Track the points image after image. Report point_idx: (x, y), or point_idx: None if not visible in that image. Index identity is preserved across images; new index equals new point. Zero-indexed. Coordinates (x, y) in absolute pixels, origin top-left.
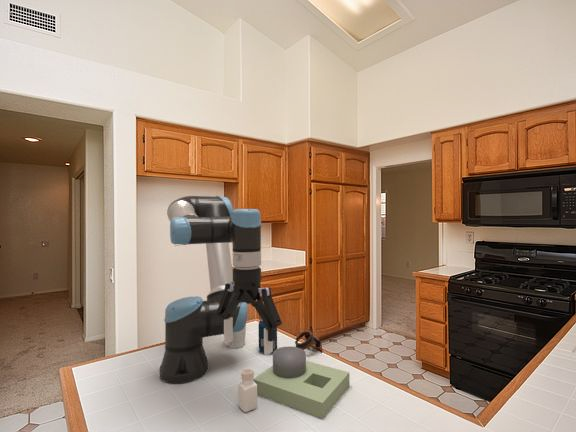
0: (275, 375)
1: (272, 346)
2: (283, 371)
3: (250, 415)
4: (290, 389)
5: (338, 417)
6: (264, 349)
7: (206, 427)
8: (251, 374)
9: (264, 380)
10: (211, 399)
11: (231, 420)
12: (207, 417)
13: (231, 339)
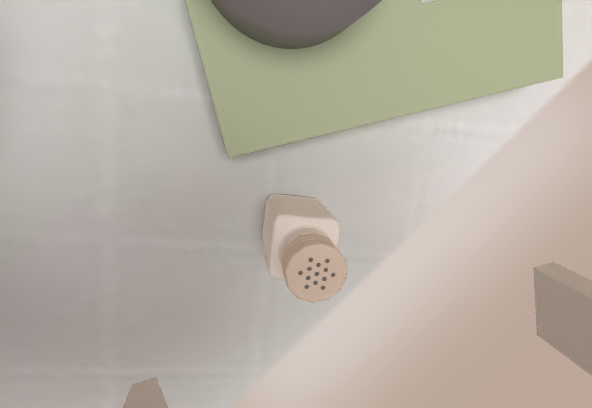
0: (279, 52)
1: (588, 282)
2: (334, 34)
3: None
4: (415, 95)
5: None
6: (571, 356)
7: (281, 358)
8: (344, 267)
9: (277, 127)
10: (154, 288)
11: None
12: (241, 339)
13: (158, 405)
